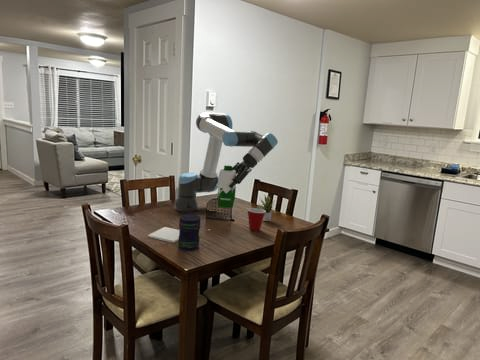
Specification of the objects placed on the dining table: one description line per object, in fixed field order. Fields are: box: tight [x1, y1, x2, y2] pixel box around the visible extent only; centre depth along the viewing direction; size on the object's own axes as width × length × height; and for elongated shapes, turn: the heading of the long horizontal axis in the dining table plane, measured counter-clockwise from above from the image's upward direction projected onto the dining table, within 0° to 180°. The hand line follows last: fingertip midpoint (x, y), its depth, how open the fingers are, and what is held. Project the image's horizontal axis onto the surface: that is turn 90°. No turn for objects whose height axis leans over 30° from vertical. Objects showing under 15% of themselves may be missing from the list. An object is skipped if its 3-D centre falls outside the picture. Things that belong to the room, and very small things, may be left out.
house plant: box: [256, 194, 276, 221], centre depth 217 cm, size 14×14×16 cm
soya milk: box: [217, 165, 237, 209], centre depth 175 cm, size 9×9×20 cm
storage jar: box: [177, 213, 202, 252], centre depth 164 cm, size 10×10×15 cm
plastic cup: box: [246, 207, 266, 232], centre depth 197 cm, size 11×11×12 cm
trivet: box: [147, 226, 180, 244], centre depth 179 cm, size 15×15×1 cm
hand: (221, 189), depth 173 cm, fingers closed on soya milk, 8 cm apart
